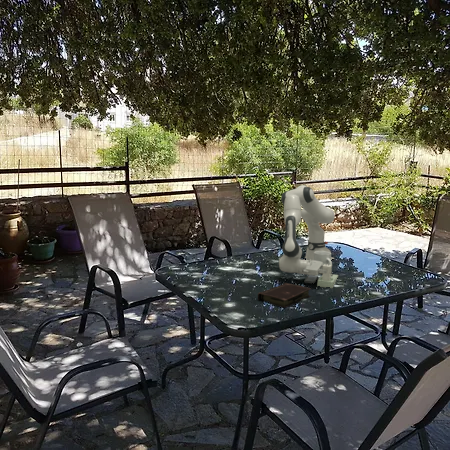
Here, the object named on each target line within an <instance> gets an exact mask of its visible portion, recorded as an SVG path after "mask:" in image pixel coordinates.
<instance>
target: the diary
mask: <svg viewBox="0 0 450 450" xmlns="http://www.w3.org/2000/svg"><path fill="white" fill-rule="evenodd" d="M311 289H312V288H310V287H306V286H302V285H298V284H294V283H293V284H292V283H287V282H284V283H282V284H279V285H277V286H273V287H270V288H269V289H267V290H263V291H260V292H258V293H257V300H258V301H260V300H261V301H263V302H267V303H269V304H270V305H274V306H277V307H281V308H287V307H290V306H292V305H294V304H297V303H298V302H302V300H304V299H308V298H310V297H311V295H309V292H310V291H309V290H311Z"/></svg>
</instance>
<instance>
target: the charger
mask: <svg viewBox="0 0 450 450" xmlns="http://www.w3.org/2000/svg"><path fill="white" fill-rule="evenodd" d="M332 269H333V264H332V265H329V264H327V263H325V264H324V265H323V270H327V273H321V274H322V275H321V277H322V281H331V274H332Z"/></svg>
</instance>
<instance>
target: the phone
mask: <svg viewBox="0 0 450 450" xmlns="http://www.w3.org/2000/svg"><path fill="white" fill-rule="evenodd" d="M307 275H308V274H307ZM318 279H319V275H317V276H314V275H308V276H307V277H306V278H305V280H303V281H304V284H312V283H313V284H314V283H315V284H316V283H317V281H318ZM316 280H317V281H316ZM313 284H312V285H313Z"/></svg>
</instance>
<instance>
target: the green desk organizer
mask: <svg viewBox="0 0 450 450" xmlns="http://www.w3.org/2000/svg"><path fill="white" fill-rule="evenodd" d="M337 278H338V279H339V274H332V273H331V281H322V275H321V276H319V277H318V279H317V282H316V283H317V284H316V287H318V286H320V288H326V287H330V288H329V289H333V288H334V287H335V285H334V284H336V283H337V281H338V279H337ZM336 280H337V281H336ZM335 282H336V283H335ZM333 286H334V287H333Z"/></svg>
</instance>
